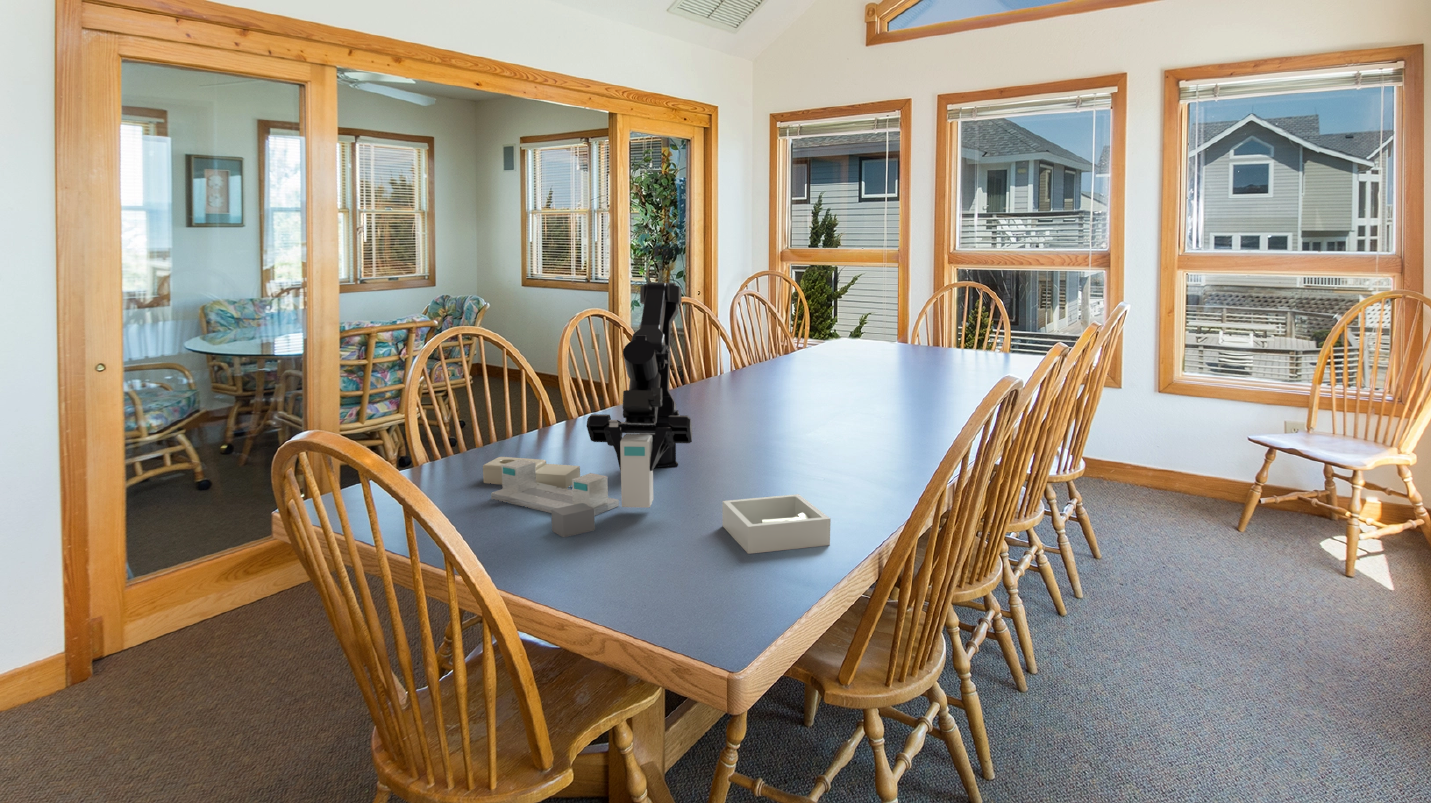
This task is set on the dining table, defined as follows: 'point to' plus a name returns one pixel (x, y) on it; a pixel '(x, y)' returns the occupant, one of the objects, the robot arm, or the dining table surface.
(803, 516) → the pipe fitting
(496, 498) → the rail plate
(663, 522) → the dining table surface
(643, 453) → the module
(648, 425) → the robot arm
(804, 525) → the parts tray
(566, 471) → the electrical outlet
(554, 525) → the grey rectangular block
